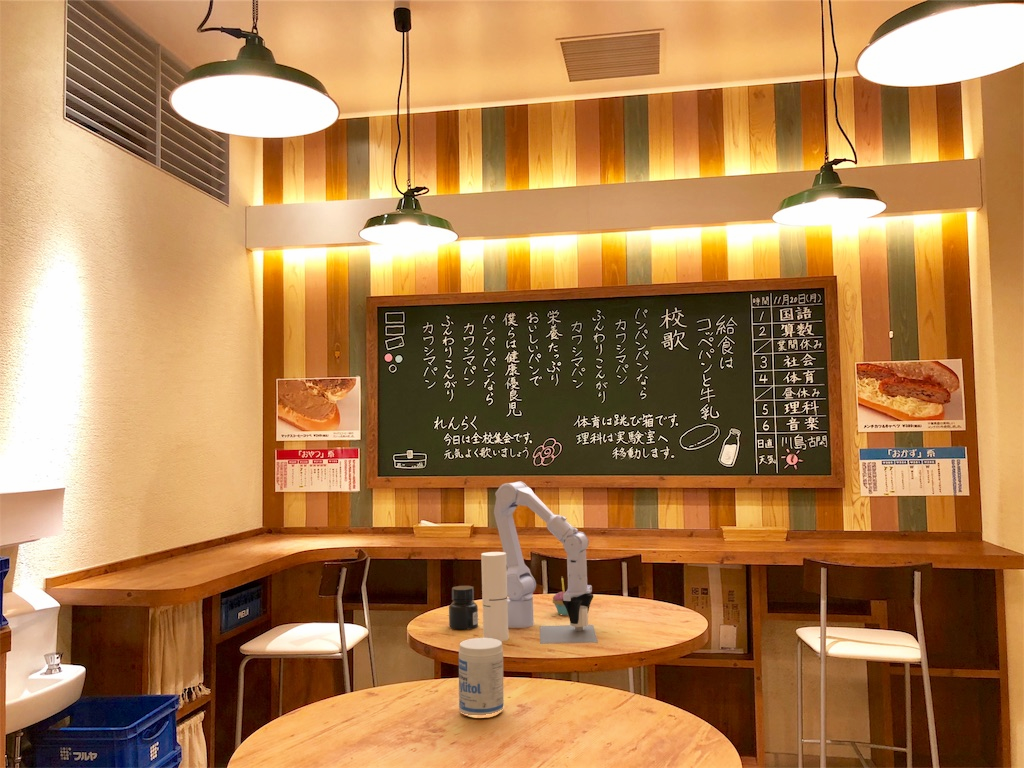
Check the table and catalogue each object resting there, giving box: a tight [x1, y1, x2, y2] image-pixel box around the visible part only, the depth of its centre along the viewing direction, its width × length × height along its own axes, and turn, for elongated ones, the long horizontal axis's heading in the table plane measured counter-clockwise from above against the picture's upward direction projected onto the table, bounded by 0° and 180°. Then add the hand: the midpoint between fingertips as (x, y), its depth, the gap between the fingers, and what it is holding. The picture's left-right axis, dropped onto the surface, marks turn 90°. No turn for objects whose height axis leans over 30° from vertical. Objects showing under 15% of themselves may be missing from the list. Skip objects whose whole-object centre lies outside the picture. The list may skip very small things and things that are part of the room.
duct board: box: [539, 624, 599, 645], centre depth 233 cm, size 16×20×6 cm
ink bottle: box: [448, 585, 479, 631], centre depth 249 cm, size 10×9×12 cm
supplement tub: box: [458, 637, 505, 715], centre depth 173 cm, size 10×10×15 cm
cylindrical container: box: [480, 551, 510, 643], centre depth 230 cm, size 7×7×25 cm
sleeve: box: [569, 606, 589, 627], centre depth 237 cm, size 5×5×5 cm
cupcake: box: [552, 577, 569, 616], centre depth 263 cm, size 9×8×12 cm
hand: (578, 621), depth 237 cm, fingers closed on sleeve, 5 cm apart
